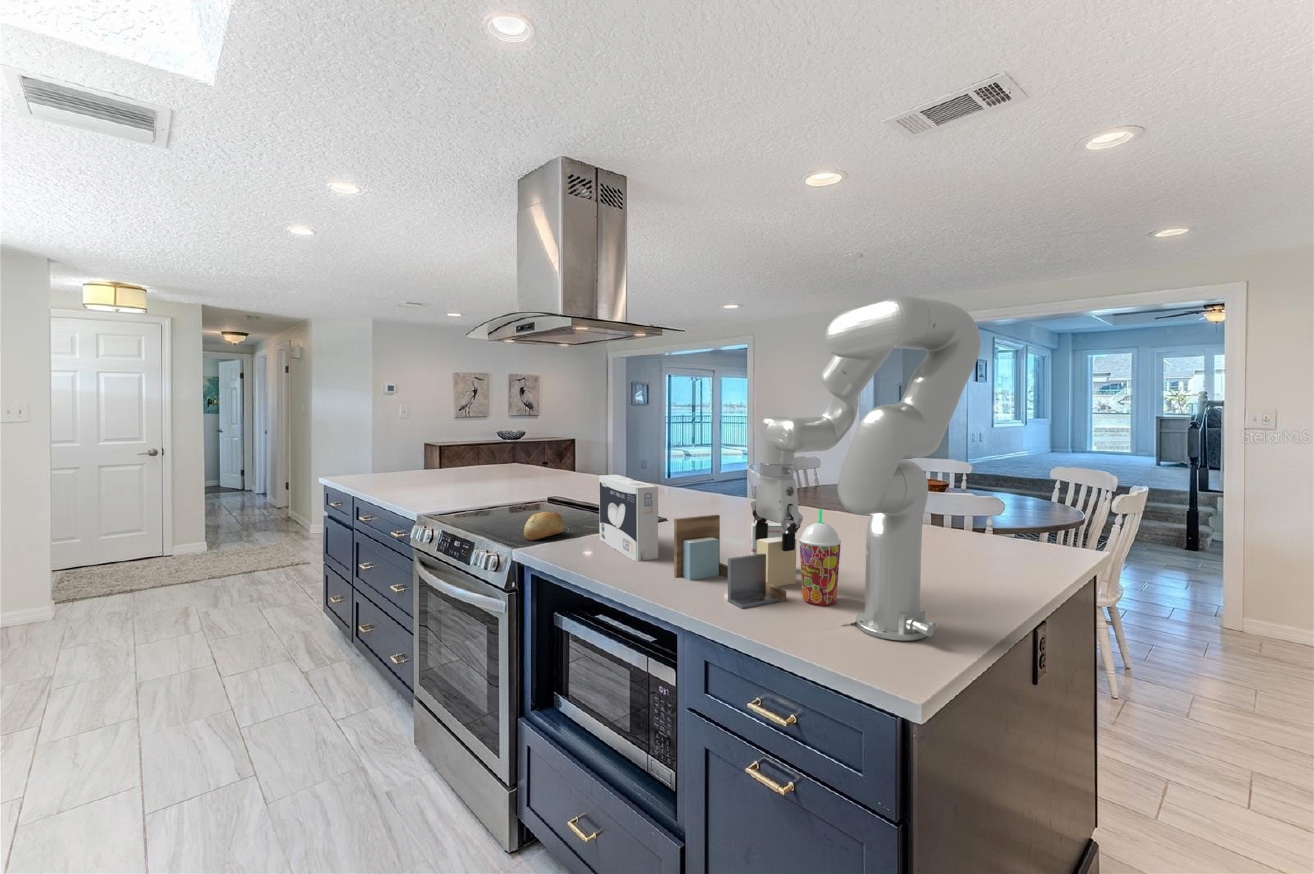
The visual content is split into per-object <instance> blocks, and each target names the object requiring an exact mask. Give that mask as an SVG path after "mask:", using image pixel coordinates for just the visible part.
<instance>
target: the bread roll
mask: <svg viewBox="0 0 1314 874" xmlns="http://www.w3.org/2000/svg"><path fill="white" fill-rule="evenodd" d="M564 529H565V522H564V520H563V517H562V515H560V513H557V512H552V511H541V512H537V513H535V514H532V515H530V517H529V518H528V520H527V521H526V522H525V524H524V528H523V536H524V537H525V539H526V540H528V541H535V540H536V541H537V540H540V539H544V538H548V537H552V536H554V535H558V534H562V532H563V531H564Z"/></svg>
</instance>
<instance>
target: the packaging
mask: <svg viewBox="0 0 1314 874" xmlns="http://www.w3.org/2000/svg"><path fill="white" fill-rule="evenodd" d="M598 482H599V483H598V488H599V489H598V490H599V491H598V495H599V496H598V497H599V500H598V504H599V505H598V507H599V510H598V513H599V515H598V517H599V519H598V520H599V529H598V531H599V540H600V542H602V541H603V544H606V545H607V546H609V547H610V548H612V549H614V550H615V549H616V551H617V552H619V553H621V554H622V555H623V556H625V557H627V558H628V559H630V560H632V561H633V562H635V563H637V562H645V561H651V560H652V561H653V560H658V559H659V487H658V486H656V485H652V484H650V483H647V482H644V481H641V480H640V481H639V480H635V479H633V478H629V477H627V476H623V475H619V474H605V475H604V474H603V475H599V476H598Z"/></svg>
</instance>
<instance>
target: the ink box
mask: <svg viewBox="0 0 1314 874" xmlns="http://www.w3.org/2000/svg"><path fill="white" fill-rule="evenodd" d="M767 523H768V538H773V537H781V536H782V533H785V532H784V530H783V528H782V525H781V523H776V522H767ZM750 525H751V526H750V527H751V528H750V532H751V533H750V555H756V554H757V541H756V540H755V531H756V524H755V522H751V523H750Z"/></svg>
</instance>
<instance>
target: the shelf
mask: <svg viewBox="0 0 1314 874" xmlns="http://www.w3.org/2000/svg"><path fill="white" fill-rule="evenodd" d="M720 517H721V516H720V514H710V515H700V516H691V517H681V518H680V517H678V518H674V520H673V521H674V522H673V523H674V524H673V525H674V528H673V529H674V531H673V532H674V533H673V537H674V538H673V539H674V540H673V541H674V547H673V550H674V551H673V552H674V554H673V555H674V558H673V560H674V563H673V564H674V569H673V570H674V573H673V575H674V578H675V579H681V578H684V577H683V540H692V539H700V538H708V537H713V538H716V539H719V574H721V575H724V576H725V577H727V578H728V564H725V563H723V562H720V561H721V560H720V557H721V556H720V554H721V553H720V551H721V550H720V547H721V546H720V541H721V540H720V539H721V536H720V535H721V533H720V531H721V530H720V529H721V528H720V526H721V523H720V522H721V518H720ZM766 593H768V594H770V595H772V596H774V597H777V598H778V601H780V602H787V590H785V589H783V588H781V587H780V586H777V587H776V586H774V585H772V584H769V583H767V582H766Z"/></svg>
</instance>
